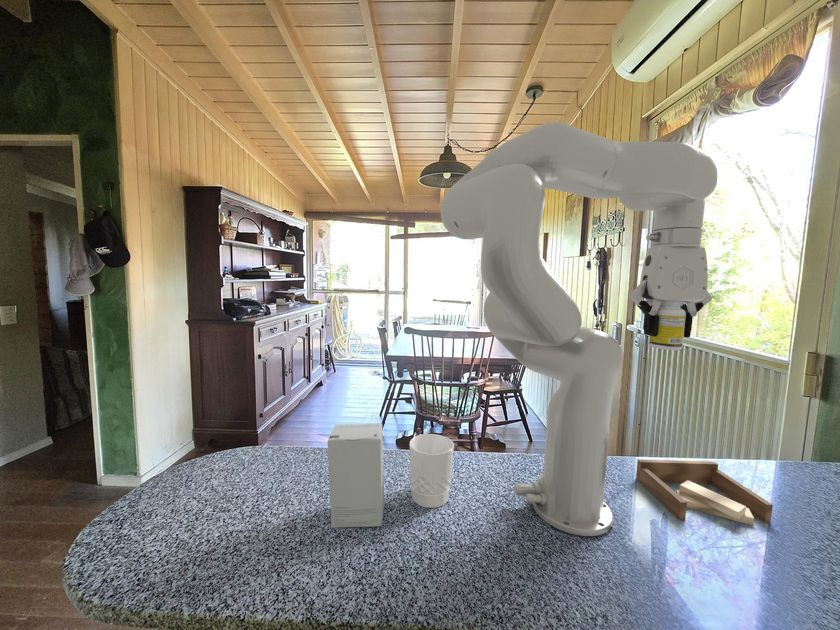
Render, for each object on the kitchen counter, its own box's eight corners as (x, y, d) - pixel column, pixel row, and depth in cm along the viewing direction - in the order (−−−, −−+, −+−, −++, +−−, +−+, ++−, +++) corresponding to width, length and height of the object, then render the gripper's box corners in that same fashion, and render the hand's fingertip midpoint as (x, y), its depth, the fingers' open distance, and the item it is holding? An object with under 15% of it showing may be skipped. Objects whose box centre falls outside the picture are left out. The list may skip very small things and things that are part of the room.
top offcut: (679, 491, 65) (679, 484, 64) (687, 486, 66) (687, 480, 66) (737, 519, 57) (738, 512, 57) (745, 513, 59) (745, 506, 58)
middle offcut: (677, 505, 63) (678, 498, 63) (675, 496, 65) (676, 489, 65) (753, 525, 58) (754, 518, 58) (747, 515, 60) (748, 508, 60)
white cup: (449, 514, 59) (451, 456, 58) (403, 506, 61) (404, 451, 60) (454, 487, 67) (456, 436, 66) (413, 481, 69) (414, 431, 68)
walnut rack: (678, 522, 59) (681, 496, 58) (635, 480, 71) (637, 459, 70) (770, 524, 59) (773, 499, 58) (711, 483, 71) (714, 461, 70)
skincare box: (384, 505, 61) (385, 422, 60) (381, 529, 55) (383, 438, 54) (335, 505, 61) (335, 421, 59) (327, 529, 55) (327, 437, 53)
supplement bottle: (652, 344, 73) (657, 296, 72) (684, 348, 69) (690, 297, 68) (645, 347, 69) (650, 296, 68) (679, 351, 65) (684, 298, 64)
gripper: (642, 236, 63) (633, 337, 65) (739, 239, 63) (727, 340, 65) (619, 241, 71) (611, 331, 72) (705, 243, 70) (696, 334, 72)
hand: (666, 334), depth 69 cm, fingers closed on supplement bottle, 5 cm apart
